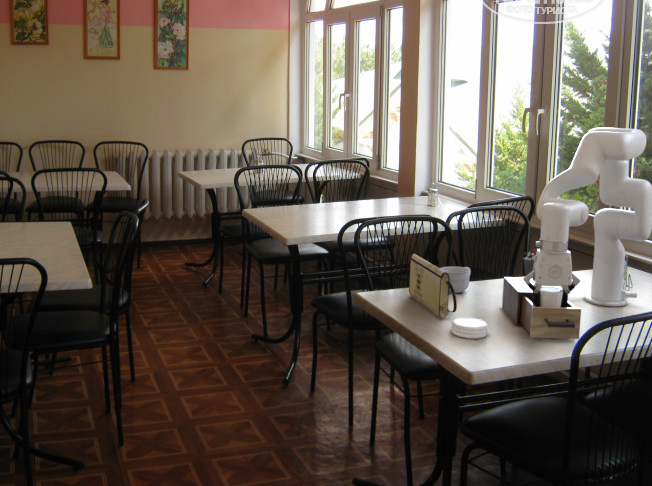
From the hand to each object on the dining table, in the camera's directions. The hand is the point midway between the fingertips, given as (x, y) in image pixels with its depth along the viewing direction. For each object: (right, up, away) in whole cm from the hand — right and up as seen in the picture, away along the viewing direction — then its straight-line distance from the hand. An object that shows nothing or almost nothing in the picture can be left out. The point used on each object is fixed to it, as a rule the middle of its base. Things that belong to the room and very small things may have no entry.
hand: (549, 305), depth 214 cm
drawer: (0, -8, 0) cm, 8 cm away
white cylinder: (0, -2, 0) cm, 2 cm away
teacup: (-16, -1, +46) cm, 49 cm away
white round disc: (-23, -8, 0) cm, 25 cm away
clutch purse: (-29, -4, +26) cm, 39 cm away
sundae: (+12, 0, +53) cm, 54 cm away
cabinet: (0, -6, +16) cm, 17 cm away
